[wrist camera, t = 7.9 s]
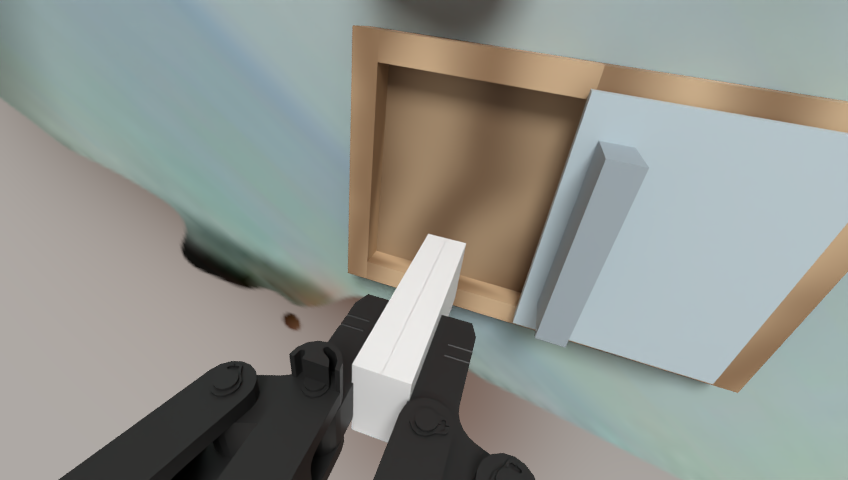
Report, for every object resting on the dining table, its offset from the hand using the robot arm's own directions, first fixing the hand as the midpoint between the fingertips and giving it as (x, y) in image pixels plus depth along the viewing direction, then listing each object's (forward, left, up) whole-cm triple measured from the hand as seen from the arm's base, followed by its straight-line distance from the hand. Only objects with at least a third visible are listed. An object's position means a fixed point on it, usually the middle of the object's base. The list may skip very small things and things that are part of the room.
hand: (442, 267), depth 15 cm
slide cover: (+10, -1, -8) cm, 12 cm away
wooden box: (+5, 0, -10) cm, 11 cm away
